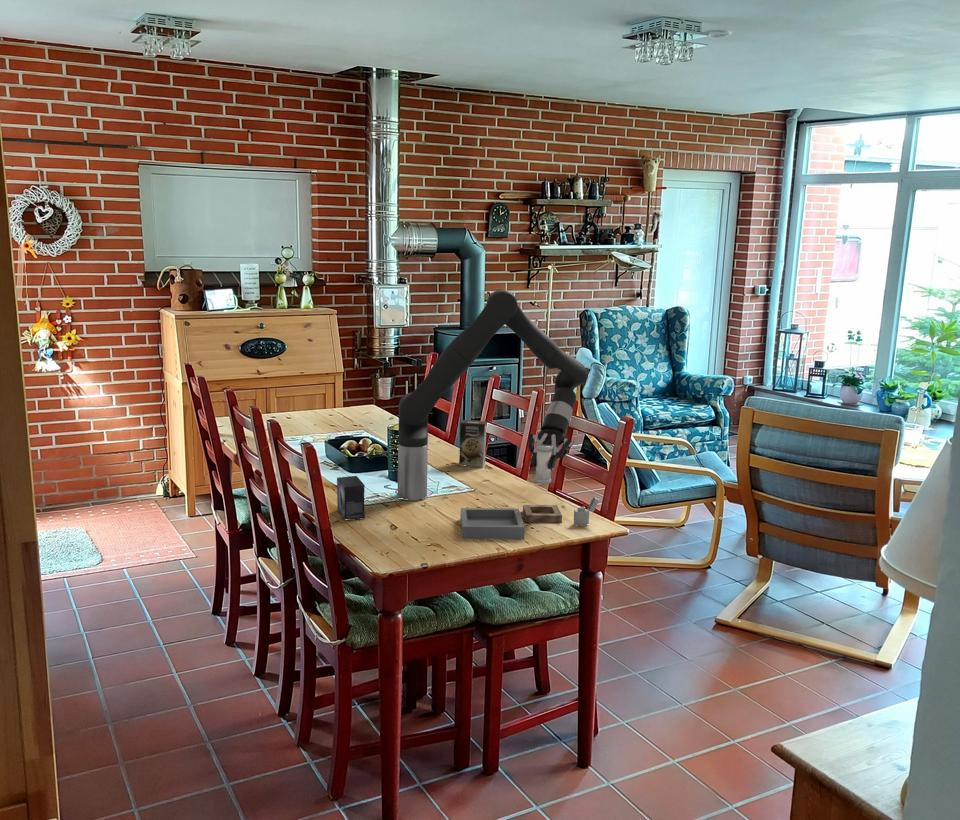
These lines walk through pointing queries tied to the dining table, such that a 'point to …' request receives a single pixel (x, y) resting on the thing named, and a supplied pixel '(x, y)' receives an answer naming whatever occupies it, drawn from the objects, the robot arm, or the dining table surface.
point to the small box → (350, 497)
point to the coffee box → (472, 443)
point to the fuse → (543, 463)
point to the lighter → (584, 513)
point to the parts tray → (491, 523)
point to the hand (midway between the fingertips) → (541, 466)
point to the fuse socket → (532, 517)
